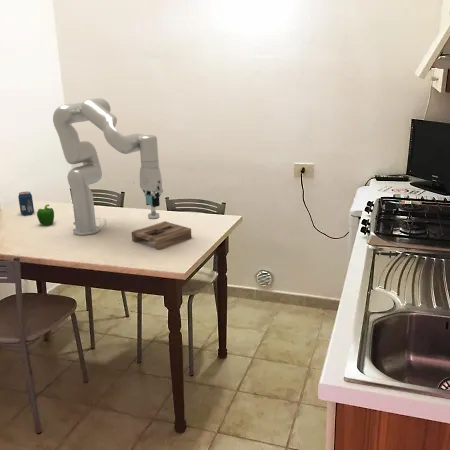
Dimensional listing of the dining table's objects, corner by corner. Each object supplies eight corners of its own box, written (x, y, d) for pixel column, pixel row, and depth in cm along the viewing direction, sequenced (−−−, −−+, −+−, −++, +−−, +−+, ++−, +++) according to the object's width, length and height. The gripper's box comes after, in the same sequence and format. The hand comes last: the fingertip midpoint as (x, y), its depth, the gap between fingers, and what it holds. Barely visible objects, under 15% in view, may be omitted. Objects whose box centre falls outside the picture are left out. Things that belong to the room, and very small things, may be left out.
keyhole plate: (132, 241, 229) (131, 231, 228) (165, 230, 243) (164, 221, 242) (158, 249, 218) (157, 240, 216) (191, 237, 232) (191, 228, 230)
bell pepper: (42, 228, 251) (39, 208, 248) (36, 224, 257) (33, 205, 254) (58, 224, 257) (56, 205, 253) (52, 221, 262) (49, 202, 259)
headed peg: (145, 217, 224) (144, 195, 221) (154, 215, 227) (152, 192, 224) (153, 219, 221) (151, 196, 218) (161, 217, 224) (160, 194, 221)
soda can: (25, 212, 279) (21, 191, 276) (36, 212, 278) (33, 191, 275) (18, 215, 273) (15, 194, 269) (30, 216, 272) (27, 194, 268)
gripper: (130, 163, 220) (134, 204, 225) (156, 167, 209) (159, 210, 214) (144, 161, 225) (147, 200, 230) (169, 165, 214) (172, 206, 220)
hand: (152, 205), depth 222 cm, fingers closed on headed peg, 4 cm apart
